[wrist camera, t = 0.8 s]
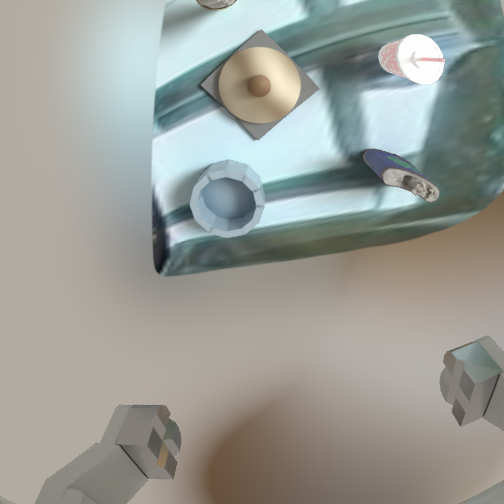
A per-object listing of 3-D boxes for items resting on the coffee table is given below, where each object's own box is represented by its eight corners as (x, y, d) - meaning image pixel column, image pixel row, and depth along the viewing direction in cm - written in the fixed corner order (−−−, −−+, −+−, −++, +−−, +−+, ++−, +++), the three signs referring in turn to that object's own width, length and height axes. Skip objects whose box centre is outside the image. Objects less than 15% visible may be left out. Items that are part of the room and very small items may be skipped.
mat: (261, 30, 34) (261, 29, 33) (318, 88, 38) (319, 88, 37) (201, 84, 38) (200, 84, 37) (258, 139, 42) (258, 140, 41)
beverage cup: (393, 87, 36) (443, 100, 25) (364, 55, 34) (405, 53, 23) (420, 62, 34) (476, 68, 22) (392, 30, 32) (441, 20, 20)
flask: (359, 161, 43) (383, 188, 34) (366, 142, 41) (393, 165, 32) (411, 181, 44) (442, 211, 35) (418, 164, 42) (452, 191, 33)
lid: (261, 32, 33) (260, 28, 30) (316, 88, 37) (321, 90, 34) (203, 84, 37) (197, 86, 34) (258, 137, 41) (257, 144, 38)
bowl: (229, 147, 43) (226, 155, 39) (277, 194, 46) (278, 207, 42) (183, 191, 47) (176, 204, 43) (230, 233, 50) (227, 249, 46)
